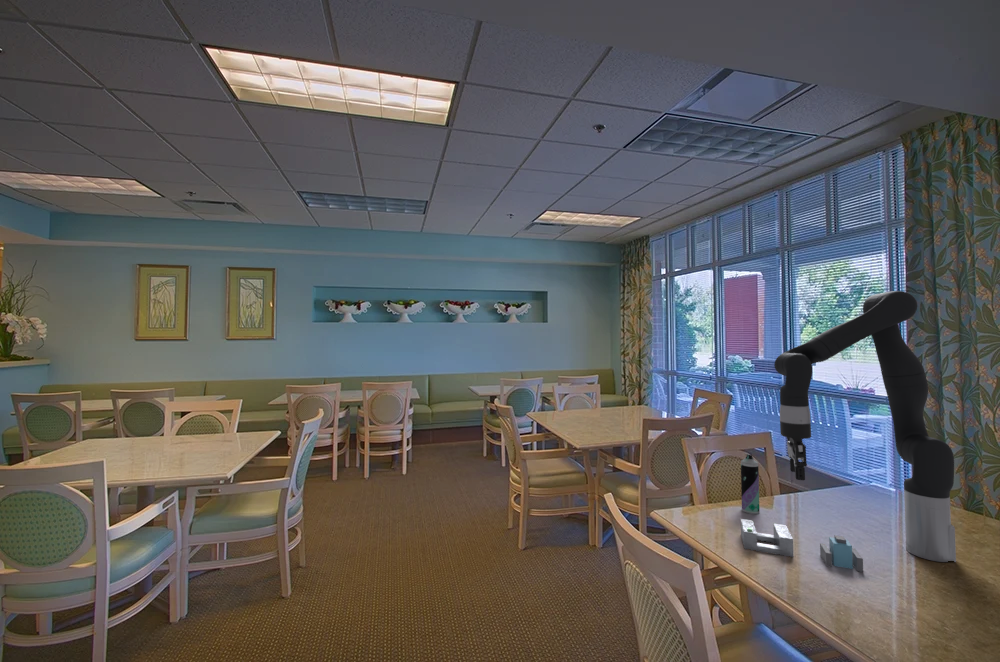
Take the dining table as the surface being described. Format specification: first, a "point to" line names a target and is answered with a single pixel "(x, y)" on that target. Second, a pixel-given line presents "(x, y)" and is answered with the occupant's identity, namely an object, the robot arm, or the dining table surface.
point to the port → (767, 539)
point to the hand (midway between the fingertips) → (797, 475)
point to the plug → (841, 552)
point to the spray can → (750, 485)
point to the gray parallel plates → (827, 557)
